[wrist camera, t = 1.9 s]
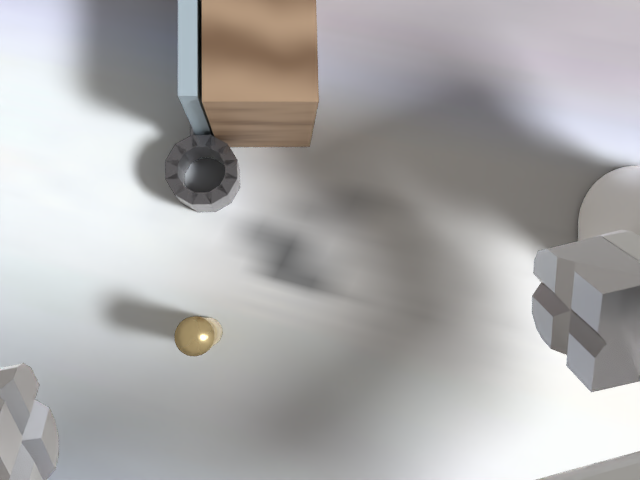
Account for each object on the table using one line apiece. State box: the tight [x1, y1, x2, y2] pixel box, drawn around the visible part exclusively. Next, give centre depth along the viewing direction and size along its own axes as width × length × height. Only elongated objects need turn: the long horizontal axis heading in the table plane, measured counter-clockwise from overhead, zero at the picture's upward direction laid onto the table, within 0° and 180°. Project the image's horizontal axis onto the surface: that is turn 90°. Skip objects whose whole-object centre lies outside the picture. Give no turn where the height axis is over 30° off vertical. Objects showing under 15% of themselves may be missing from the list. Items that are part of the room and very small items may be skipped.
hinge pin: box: [175, 316, 222, 356], centre depth 56 cm, size 3×3×10 cm
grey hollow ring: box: [165, 124, 240, 212], centre depth 61 cm, size 10×7×4 cm, turn 2°
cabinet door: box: [178, 0, 214, 136], centre depth 58 cm, size 22×3×14 cm, turn 1°
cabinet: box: [202, 0, 319, 147], centre depth 59 cm, size 22×10×14 cm, turn 1°
